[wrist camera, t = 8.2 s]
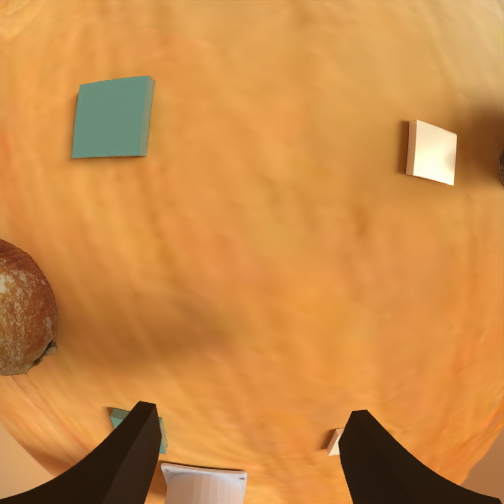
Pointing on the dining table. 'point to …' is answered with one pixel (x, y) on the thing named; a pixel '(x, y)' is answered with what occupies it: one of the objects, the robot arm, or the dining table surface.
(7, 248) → the bread roll
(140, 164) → the dining table surface
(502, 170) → the lighter
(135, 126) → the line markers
